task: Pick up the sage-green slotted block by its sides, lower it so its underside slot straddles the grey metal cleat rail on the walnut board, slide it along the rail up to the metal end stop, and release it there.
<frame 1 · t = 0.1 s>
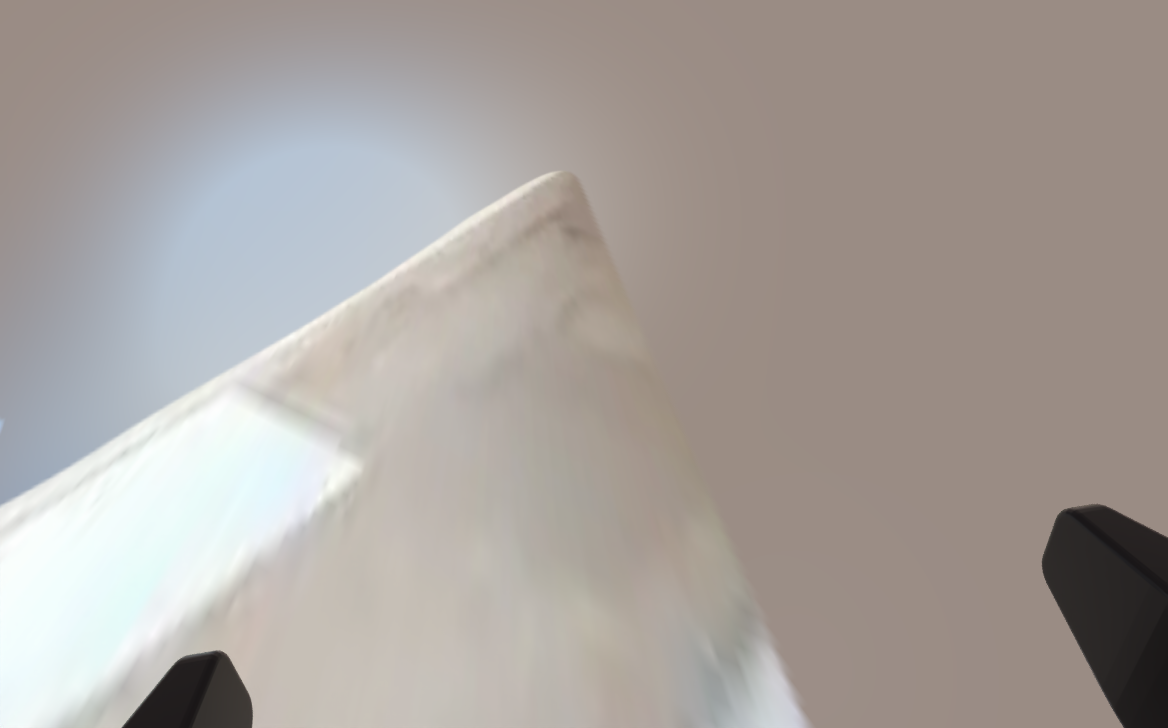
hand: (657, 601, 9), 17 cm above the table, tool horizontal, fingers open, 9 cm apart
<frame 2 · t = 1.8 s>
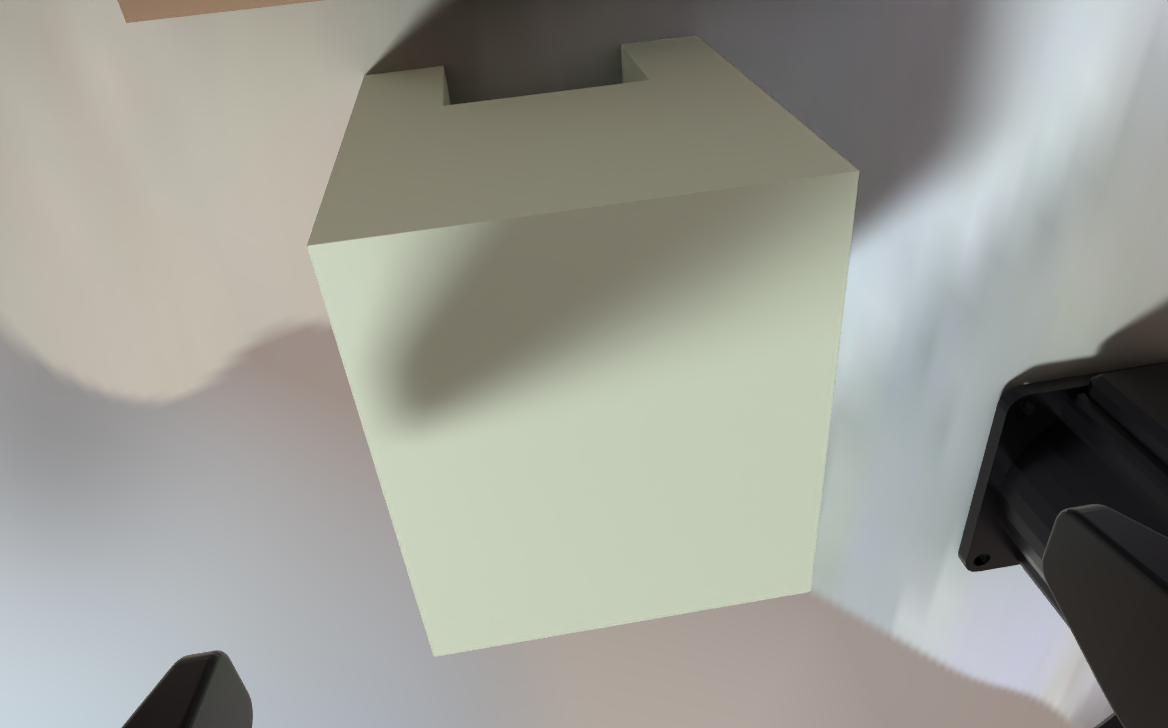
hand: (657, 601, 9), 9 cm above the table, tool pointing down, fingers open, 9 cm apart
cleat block: (553, 233, 16), on the table
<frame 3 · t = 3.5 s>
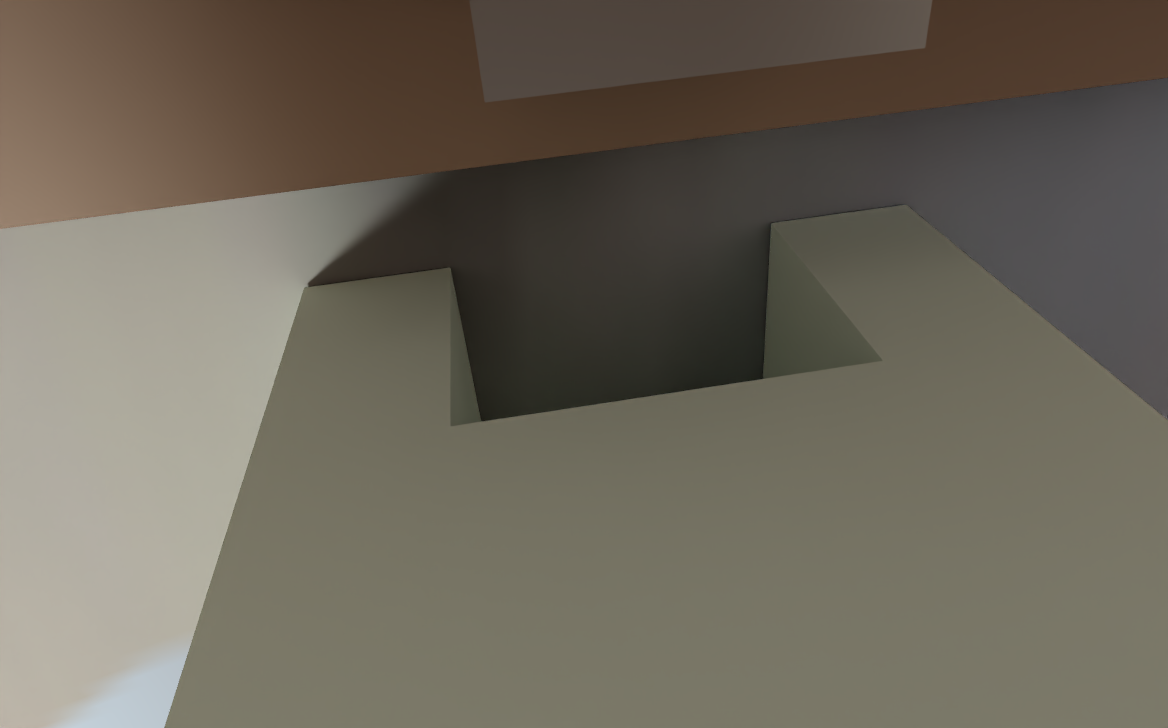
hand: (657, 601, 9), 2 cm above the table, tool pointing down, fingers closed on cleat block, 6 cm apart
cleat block: (630, 502, 10), on the table, touching gripper
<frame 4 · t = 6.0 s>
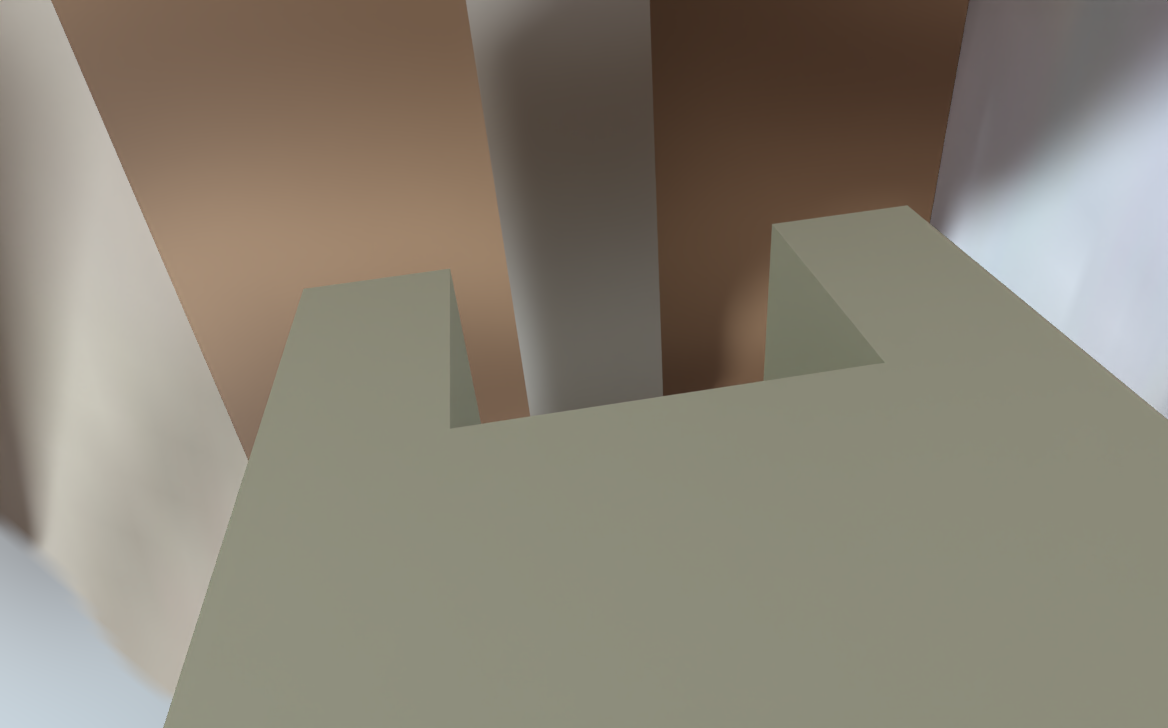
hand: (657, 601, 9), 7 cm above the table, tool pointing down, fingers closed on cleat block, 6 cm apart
cleat board: (541, 45, 12), on the table
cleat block: (631, 504, 10), point 6 cm above the table, touching gripper
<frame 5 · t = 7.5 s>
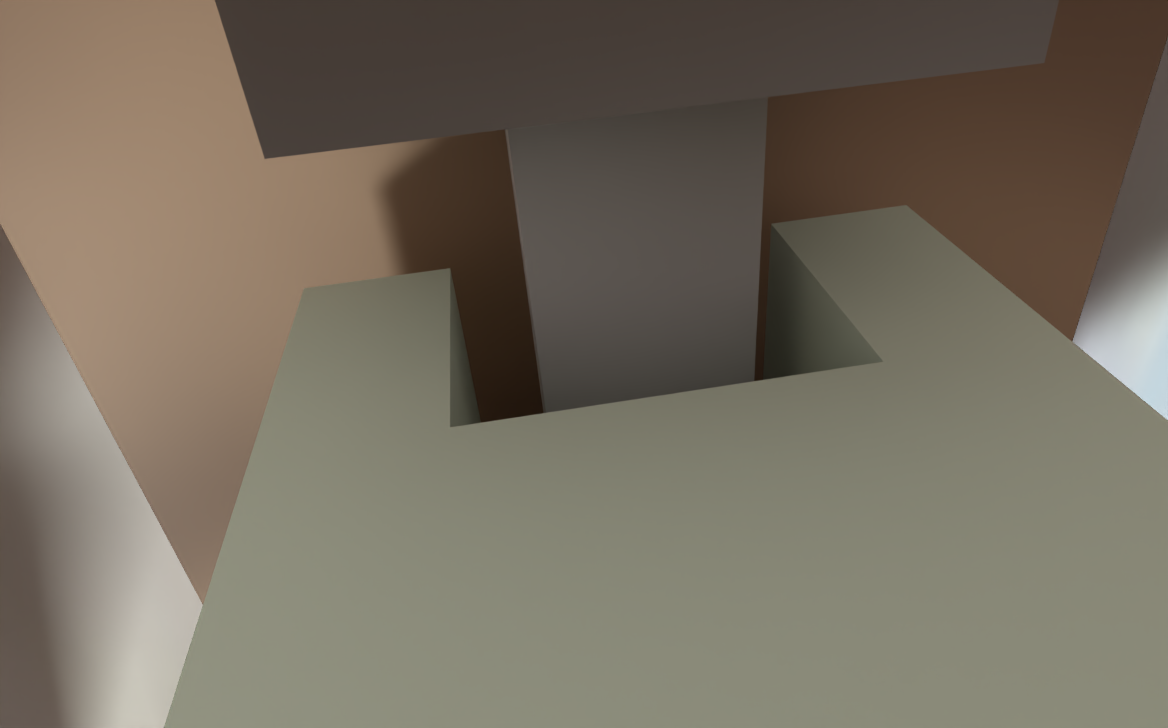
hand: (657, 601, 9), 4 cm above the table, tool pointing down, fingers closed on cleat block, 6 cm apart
cleat board: (610, 421, 12), on the table
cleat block: (630, 503, 10), point 2 cm above the table, touching gripper
when the fingers open (4 cm above the table, at t = 8.7 s): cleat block stays where it is, resting on cleat board.
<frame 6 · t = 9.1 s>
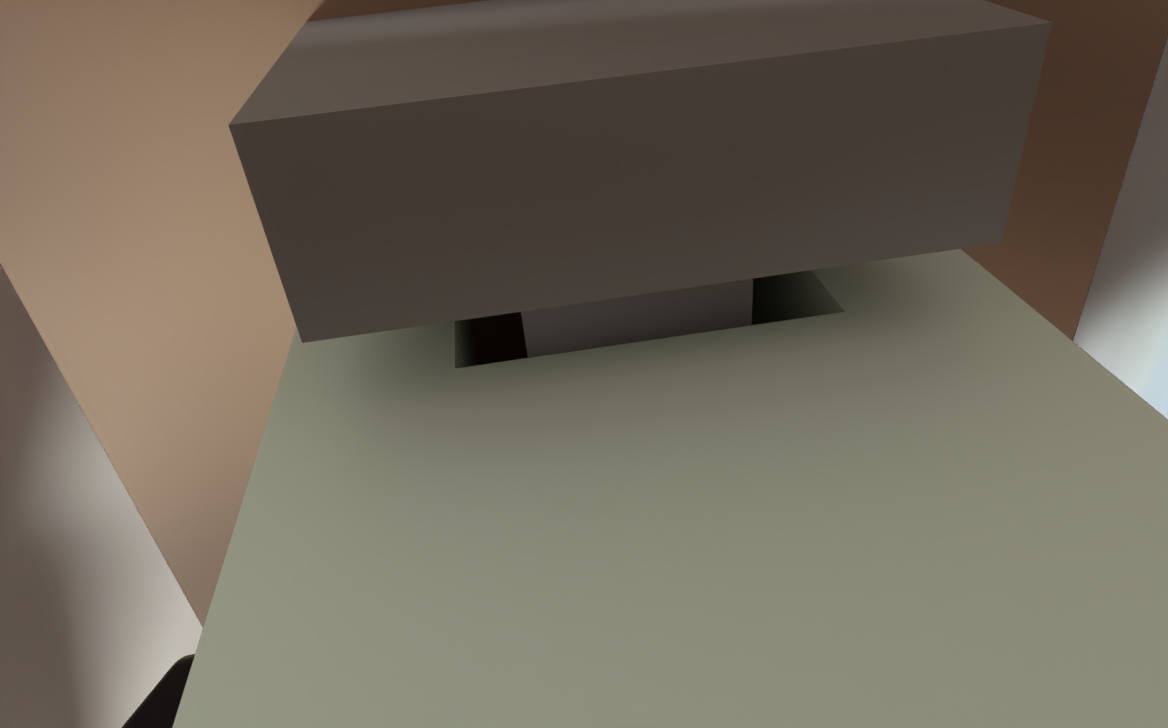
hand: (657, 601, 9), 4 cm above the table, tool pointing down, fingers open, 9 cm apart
cleat board: (611, 485, 13), on the table
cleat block: (622, 463, 10), point 1 cm above the table, touching cleat board
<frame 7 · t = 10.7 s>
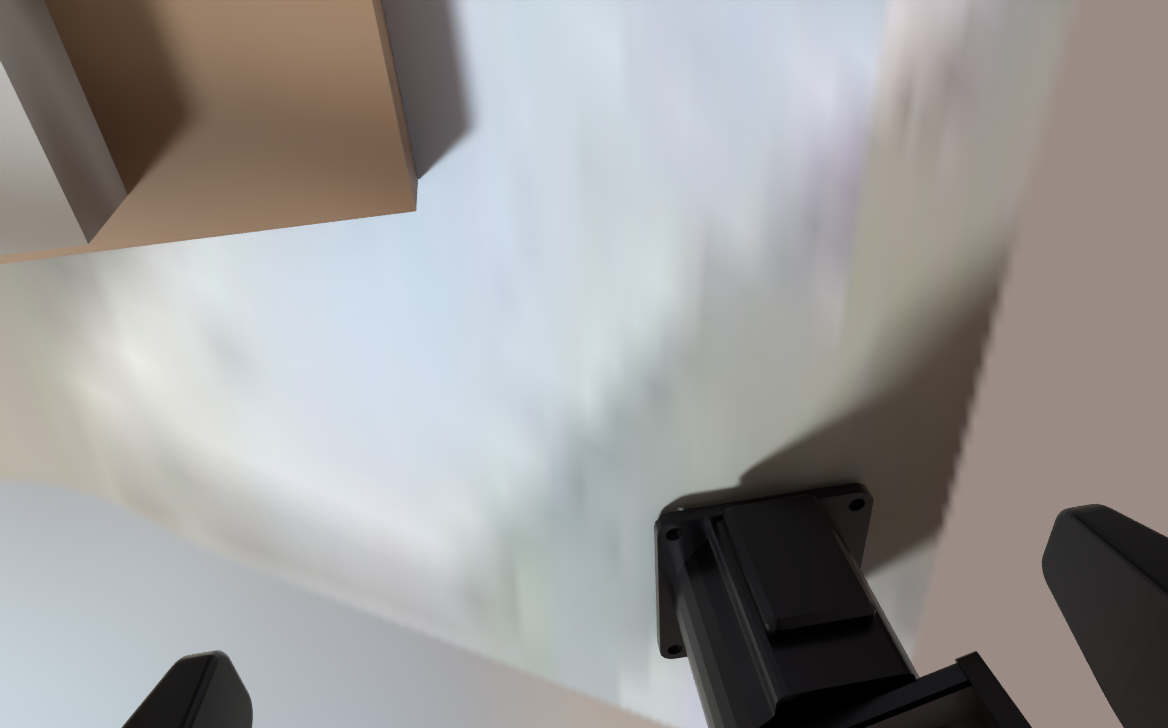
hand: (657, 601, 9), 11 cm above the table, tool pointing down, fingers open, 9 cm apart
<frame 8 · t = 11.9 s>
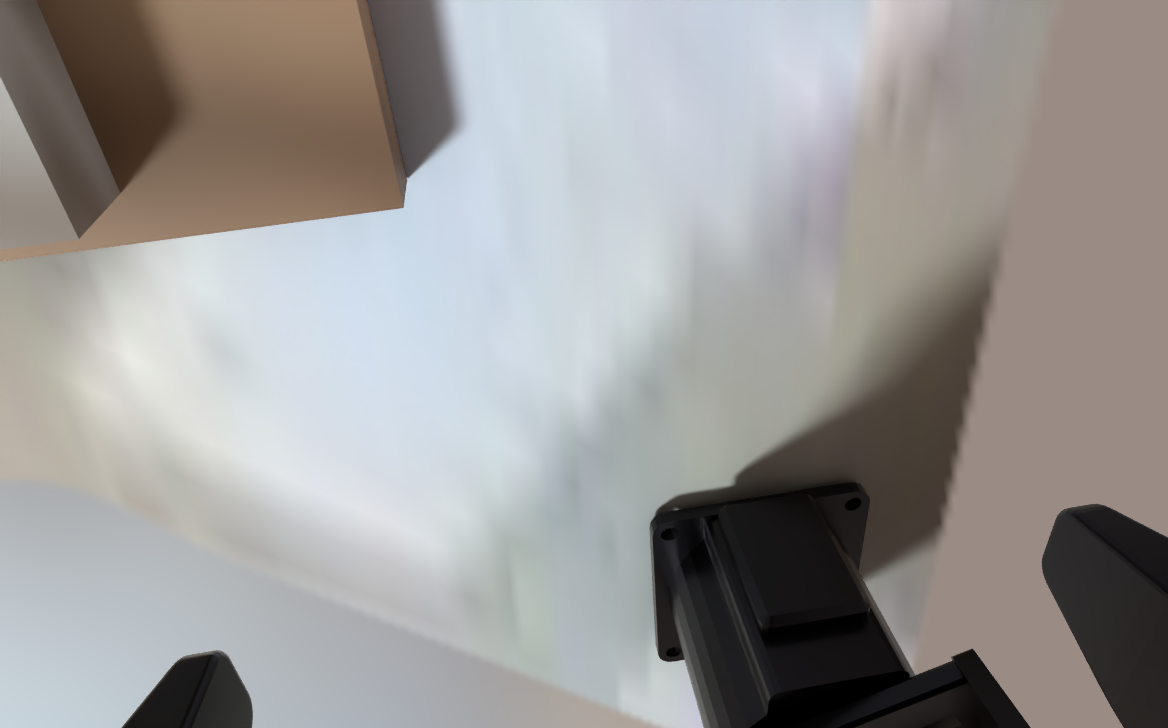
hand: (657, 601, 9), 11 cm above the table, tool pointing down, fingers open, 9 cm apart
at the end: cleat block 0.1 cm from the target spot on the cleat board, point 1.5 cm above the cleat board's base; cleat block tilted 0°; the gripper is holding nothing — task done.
